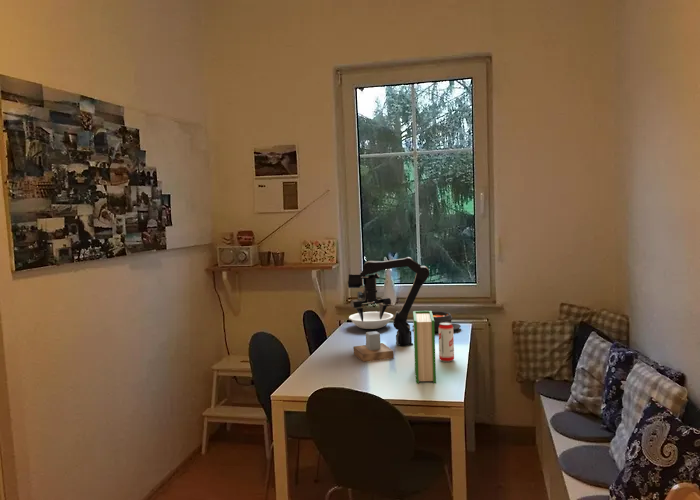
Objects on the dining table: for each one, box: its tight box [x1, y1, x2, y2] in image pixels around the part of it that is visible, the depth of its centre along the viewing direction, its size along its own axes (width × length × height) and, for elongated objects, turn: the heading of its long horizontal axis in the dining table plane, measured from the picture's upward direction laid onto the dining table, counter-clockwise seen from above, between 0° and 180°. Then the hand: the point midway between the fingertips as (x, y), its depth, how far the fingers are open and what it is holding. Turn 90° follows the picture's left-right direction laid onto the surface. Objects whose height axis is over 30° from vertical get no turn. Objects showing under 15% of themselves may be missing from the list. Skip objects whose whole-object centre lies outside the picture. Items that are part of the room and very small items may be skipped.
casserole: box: [412, 310, 461, 333], centre depth 296 cm, size 25×19×8 cm
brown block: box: [353, 342, 395, 363], centre depth 253 cm, size 14×14×4 cm
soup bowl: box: [348, 311, 394, 330], centre depth 305 cm, size 24×24×7 cm
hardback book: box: [412, 310, 437, 385], centre depth 221 cm, size 18×7×24 cm, turn 175°
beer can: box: [438, 322, 455, 363], centre depth 240 cm, size 6×6×16 cm
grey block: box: [365, 330, 381, 350], centre depth 252 cm, size 5×5×7 cm
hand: (371, 320), depth 270 cm, fingers open, 9 cm apart
